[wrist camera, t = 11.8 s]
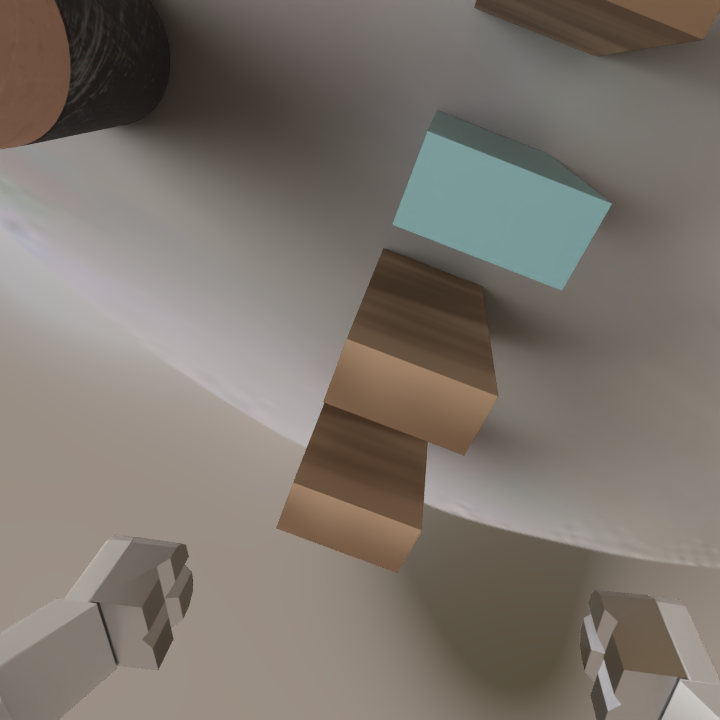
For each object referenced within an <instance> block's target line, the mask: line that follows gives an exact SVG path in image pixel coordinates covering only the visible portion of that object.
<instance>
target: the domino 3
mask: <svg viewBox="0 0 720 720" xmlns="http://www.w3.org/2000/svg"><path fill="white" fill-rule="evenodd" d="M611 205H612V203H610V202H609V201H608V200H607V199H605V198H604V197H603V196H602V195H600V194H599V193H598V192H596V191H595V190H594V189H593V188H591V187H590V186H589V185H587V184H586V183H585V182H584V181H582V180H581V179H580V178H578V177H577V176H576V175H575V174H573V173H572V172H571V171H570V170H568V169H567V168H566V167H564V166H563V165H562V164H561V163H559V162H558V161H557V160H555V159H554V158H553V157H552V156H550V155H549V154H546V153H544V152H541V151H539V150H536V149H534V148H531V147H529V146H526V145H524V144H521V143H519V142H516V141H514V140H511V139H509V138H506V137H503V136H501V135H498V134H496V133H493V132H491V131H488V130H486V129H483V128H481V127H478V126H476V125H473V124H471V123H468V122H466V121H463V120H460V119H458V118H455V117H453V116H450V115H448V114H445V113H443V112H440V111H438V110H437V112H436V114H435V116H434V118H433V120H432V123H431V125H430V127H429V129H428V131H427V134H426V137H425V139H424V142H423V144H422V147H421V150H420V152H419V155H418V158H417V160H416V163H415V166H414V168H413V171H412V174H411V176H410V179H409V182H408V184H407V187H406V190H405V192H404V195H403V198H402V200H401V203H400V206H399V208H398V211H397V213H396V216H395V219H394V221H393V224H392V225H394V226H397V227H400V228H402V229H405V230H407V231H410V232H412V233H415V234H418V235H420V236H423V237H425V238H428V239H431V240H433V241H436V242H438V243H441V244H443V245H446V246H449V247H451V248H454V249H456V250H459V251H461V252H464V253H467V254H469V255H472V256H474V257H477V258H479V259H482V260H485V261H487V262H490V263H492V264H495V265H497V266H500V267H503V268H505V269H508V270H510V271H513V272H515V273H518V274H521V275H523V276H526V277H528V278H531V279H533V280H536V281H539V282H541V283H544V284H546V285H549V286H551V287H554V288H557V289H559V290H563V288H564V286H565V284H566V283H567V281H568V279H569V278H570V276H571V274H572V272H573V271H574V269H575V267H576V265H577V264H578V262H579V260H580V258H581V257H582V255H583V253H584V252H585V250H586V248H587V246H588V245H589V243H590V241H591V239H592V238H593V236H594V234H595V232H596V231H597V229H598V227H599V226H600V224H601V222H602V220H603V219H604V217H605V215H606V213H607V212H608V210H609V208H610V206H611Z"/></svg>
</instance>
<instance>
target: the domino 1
mask: <svg viewBox="0 0 720 720" xmlns="http://www.w3.org/2000/svg"><path fill="white" fill-rule="evenodd" d="M497 398H498V391H497V384H496V377H495V370H494V364H493V357H492V350H491V343H490V336H489V329H488V322H487V316H486V309H485V302H484V295H483V288H482V286H479V285H477V284H474V283H472V282H469V281H467V280H464V279H461V278H459V277H456V276H454V275H451V274H448V273H446V272H443V271H441V270H438V269H435V268H433V267H430V266H428V265H425V264H423V263H420V262H417V261H415V260H412V259H410V258H407V257H404V256H402V255H399V254H397V253H394V252H392V251H389V250H386V249H384V248H383V251H382V253H381V256H380V258H379V261H378V263H377V266H376V268H375V271H374V273H373V276H372V278H371V280H370V283H369V285H368V288H367V290H366V293H365V295H364V298H363V300H362V303H361V305H360V308H359V310H358V313H357V315H356V318H355V320H354V322H353V325H352V327H351V330H350V332H349V335H348V337H347V340H346V343H345V345H344V348H343V351H342V353H341V356H340V359H339V361H338V364H337V367H336V369H335V372H334V375H333V377H332V380H331V383H330V385H329V388H328V391H327V393H326V396H325V399H324V401H323V402H324V403H327V404H329V405H332V406H335V407H337V408H340V409H343V410H345V411H348V412H351V413H353V414H356V415H359V416H361V417H364V418H366V419H369V420H372V421H374V422H377V423H380V424H382V425H385V426H388V427H390V428H393V429H396V430H398V431H401V432H404V433H406V434H409V435H412V436H414V437H417V438H419V439H422V440H425V441H427V442H430V443H433V444H435V445H438V446H441V447H443V448H446V449H449V450H451V451H454V452H457V453H459V454H462V455H465V454H466V452H467V450H468V449H469V447H470V445H471V443H472V442H473V440H474V438H475V436H476V435H477V433H478V431H479V429H480V428H481V426H482V424H483V422H484V421H485V419H486V417H487V415H488V414H489V412H490V410H491V408H492V407H493V405H494V403H495V401H496V400H497Z"/></svg>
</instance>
